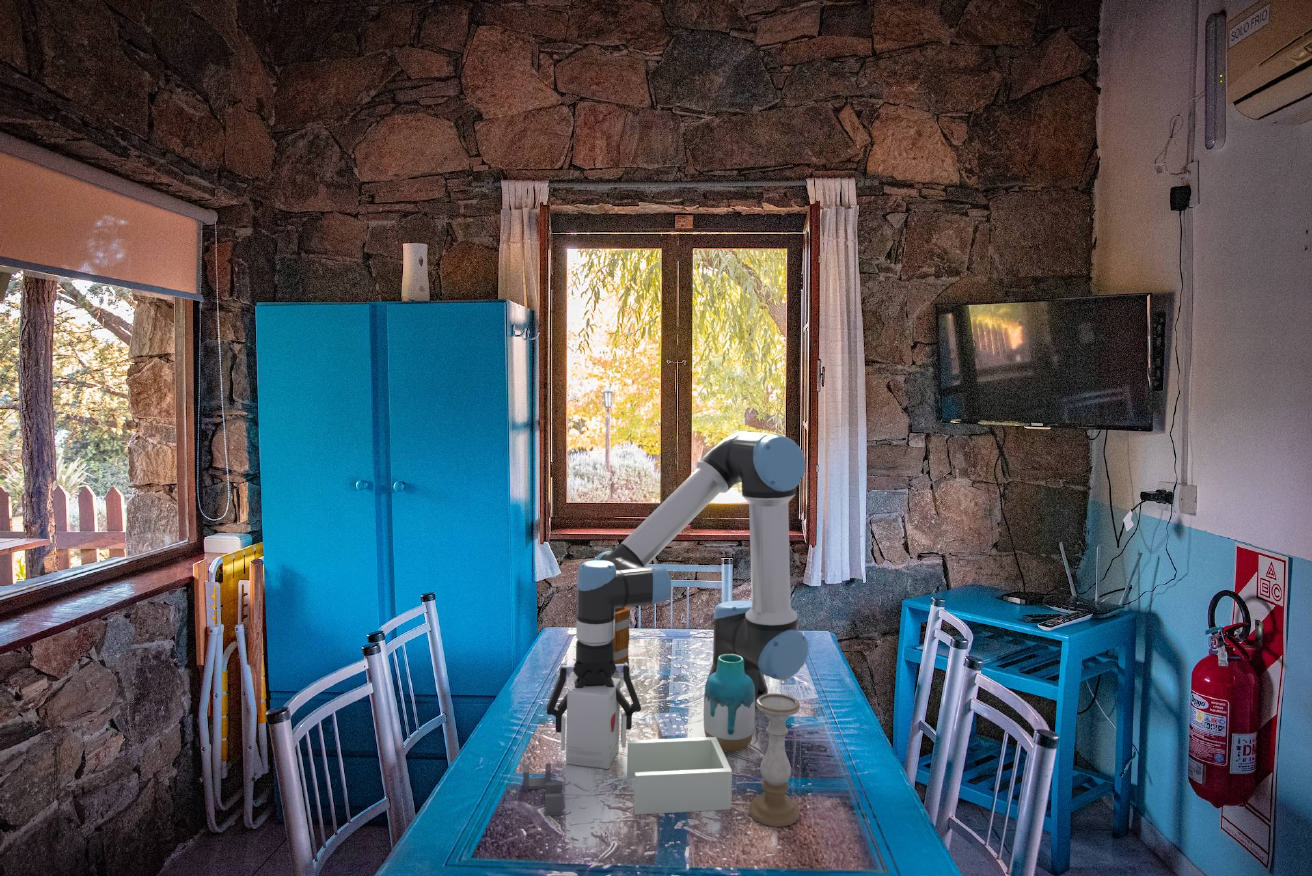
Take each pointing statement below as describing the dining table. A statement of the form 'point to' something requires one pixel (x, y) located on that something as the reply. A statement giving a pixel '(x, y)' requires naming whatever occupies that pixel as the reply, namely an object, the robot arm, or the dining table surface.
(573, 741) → the supplement box
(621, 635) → the mug
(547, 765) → the clip
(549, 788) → the clip
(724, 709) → the vase
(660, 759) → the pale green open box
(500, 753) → the dining table surface
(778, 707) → the candle holder
